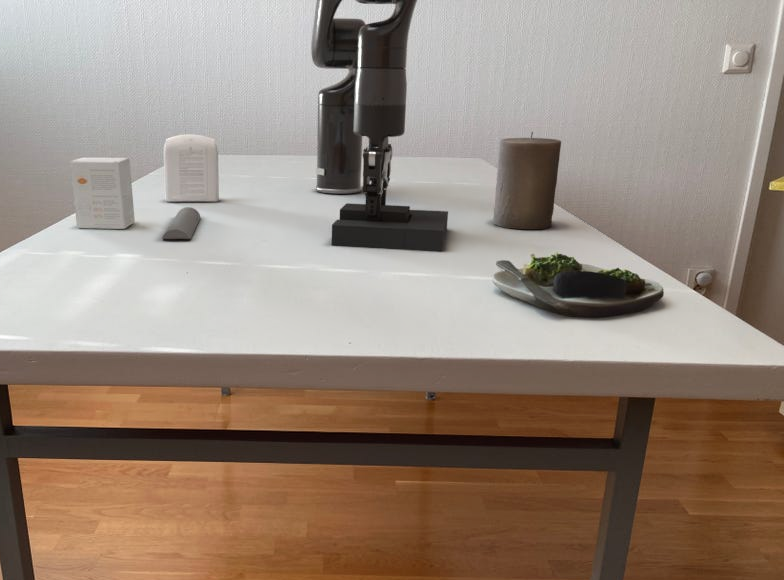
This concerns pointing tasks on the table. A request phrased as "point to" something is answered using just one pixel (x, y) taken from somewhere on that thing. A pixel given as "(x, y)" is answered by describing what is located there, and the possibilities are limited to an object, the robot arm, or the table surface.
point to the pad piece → (386, 214)
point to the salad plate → (576, 287)
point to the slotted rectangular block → (394, 232)
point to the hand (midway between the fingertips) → (375, 216)
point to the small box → (102, 192)
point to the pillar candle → (526, 182)
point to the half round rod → (183, 224)
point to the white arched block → (191, 169)
